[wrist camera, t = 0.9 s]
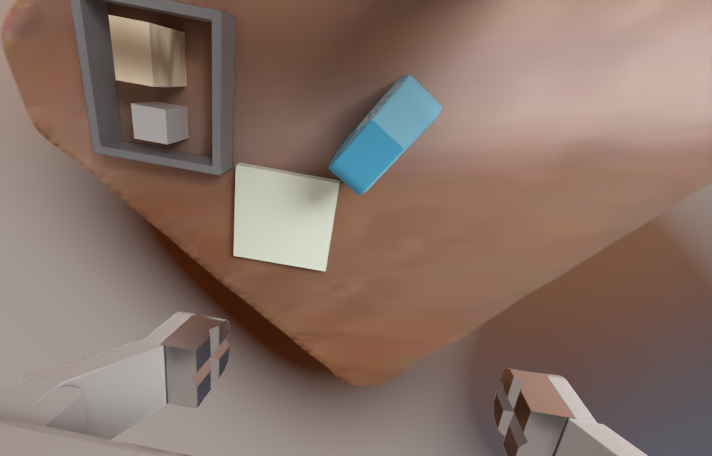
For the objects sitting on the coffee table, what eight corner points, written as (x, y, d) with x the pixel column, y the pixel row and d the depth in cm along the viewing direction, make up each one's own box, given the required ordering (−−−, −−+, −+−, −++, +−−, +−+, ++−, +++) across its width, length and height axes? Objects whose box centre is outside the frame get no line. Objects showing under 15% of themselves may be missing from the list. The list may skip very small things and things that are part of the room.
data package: (400, 75, 40) (411, 72, 29) (426, 102, 41) (446, 108, 30) (336, 149, 44) (325, 171, 33) (361, 172, 45) (358, 200, 34)
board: (239, 162, 45) (235, 164, 44) (340, 180, 46) (339, 183, 44) (237, 251, 51) (233, 255, 49) (326, 266, 51) (325, 271, 50)
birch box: (151, 26, 39) (108, 14, 33) (185, 32, 39) (148, 22, 33) (155, 82, 41) (116, 81, 35) (187, 88, 42) (153, 88, 35)
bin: (97, -10, 38) (67, -20, 34) (235, 17, 38) (221, 10, 35) (116, 147, 45) (93, 152, 41) (232, 168, 45) (220, 175, 42)
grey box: (156, 101, 42) (130, 103, 38) (187, 107, 43) (165, 109, 38) (159, 132, 44) (134, 138, 39) (188, 138, 44) (167, 144, 40)
